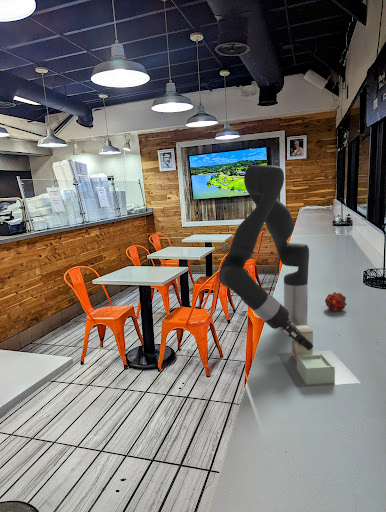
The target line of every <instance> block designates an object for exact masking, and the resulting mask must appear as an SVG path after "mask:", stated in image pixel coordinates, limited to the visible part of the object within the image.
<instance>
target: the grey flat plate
mask: <svg viewBox="0 0 386 512" xmlns="http://www.w3.org/2000/svg"><path fill="white" fill-rule="evenodd" d="M313 354H320V355H321V354H324V355H325V356H326V357H327V359H328V360H329V361H330V362H331V363H332V364H333V366H334V367H335V368H334V369H335V383H322V384H307V385H306V383H305V382H304V380H303V379H302V377H301V376H300V374H299V372H298V371H297V362H296V360H295V359H294V357H293V356H292V352H282V353H281V352H280V353H278V352H277V355H278V358H279V360H280V361H281V363H282V365H283V366H284V367H285V371H287V373H288V375H289V377H290V378H291V380H292V382H293V383H294V386H296V388H308V387H321V386H324V387H325V386H337V385H338V386H340V385H355V384H356V385H357V384H362V382H361V381H360V380H359V379H358V378H357V377H356V375H354V374H353V372H352V371H350V370H349V368H348V367H347V366H346V365H345V364H344V363H343V362H342V361H341V360H340V359H339V358H338V356H337V355H336V354H335V353H334V352H333V351H332V350H330V349H328V350H314V351H313Z"/></svg>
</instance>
